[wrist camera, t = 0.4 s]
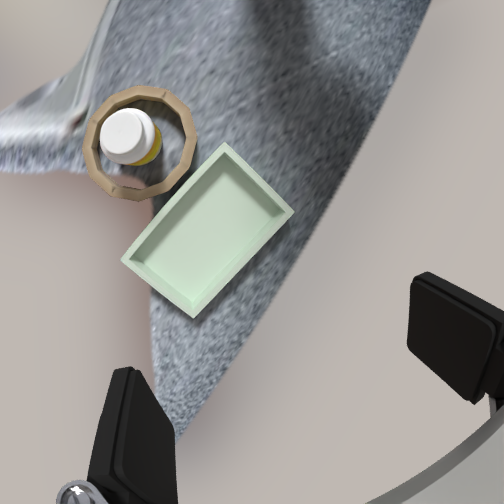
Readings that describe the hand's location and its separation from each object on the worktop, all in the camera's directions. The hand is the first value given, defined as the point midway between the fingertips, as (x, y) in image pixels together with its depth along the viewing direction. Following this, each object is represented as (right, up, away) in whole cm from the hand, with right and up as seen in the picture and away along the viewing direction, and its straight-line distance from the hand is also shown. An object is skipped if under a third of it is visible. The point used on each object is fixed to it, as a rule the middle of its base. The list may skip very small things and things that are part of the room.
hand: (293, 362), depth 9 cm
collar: (-15, +16, +22) cm, 31 cm away
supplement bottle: (-15, +16, +23) cm, 32 cm away
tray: (-7, +6, +27) cm, 29 cm away
